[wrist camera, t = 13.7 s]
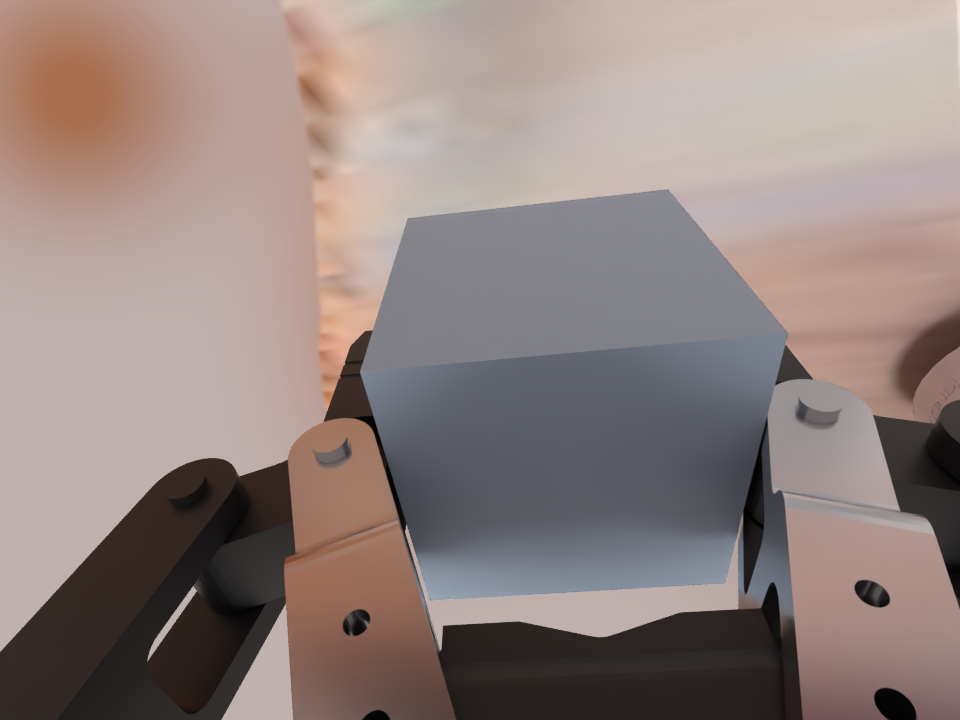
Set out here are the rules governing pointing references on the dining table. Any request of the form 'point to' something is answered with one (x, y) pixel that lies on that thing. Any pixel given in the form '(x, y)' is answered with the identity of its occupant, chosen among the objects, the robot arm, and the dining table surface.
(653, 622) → the robot arm
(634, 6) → the dining table surface
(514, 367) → the blue cube
